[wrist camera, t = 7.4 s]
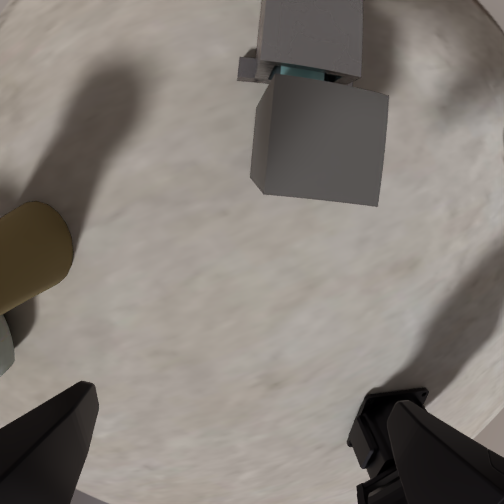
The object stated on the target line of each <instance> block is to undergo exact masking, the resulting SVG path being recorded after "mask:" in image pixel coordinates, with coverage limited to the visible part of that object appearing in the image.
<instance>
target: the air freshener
mask: <svg viewBox="0 0 504 504" xmlns="http://www.w3.org/2000/svg"><path fill="white" fill-rule="evenodd" d="M14 361H15V357H14V346H13V341H12V337H11V334H10V330H9V327H8V325H7V322H6V320H5V318H4V316H3V314H2V315H0V377H1V376H2V375H3V374H4V373H5V372H6V371H7V370H8V369H9V368H10V367H11V366H12V364H13V363H14Z"/></svg>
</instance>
